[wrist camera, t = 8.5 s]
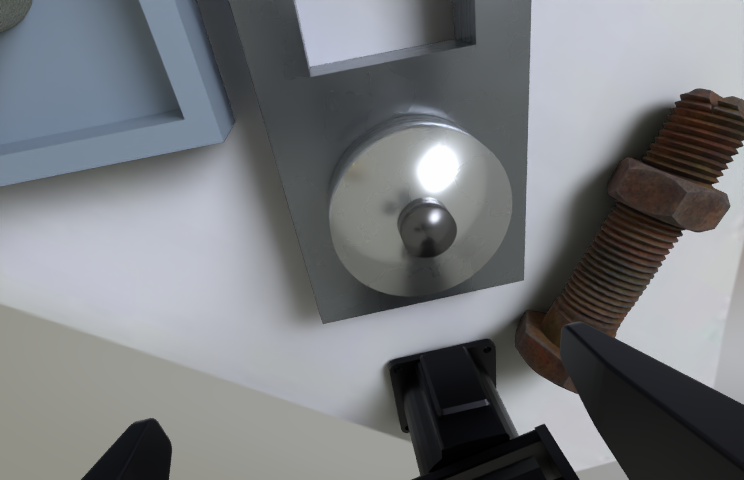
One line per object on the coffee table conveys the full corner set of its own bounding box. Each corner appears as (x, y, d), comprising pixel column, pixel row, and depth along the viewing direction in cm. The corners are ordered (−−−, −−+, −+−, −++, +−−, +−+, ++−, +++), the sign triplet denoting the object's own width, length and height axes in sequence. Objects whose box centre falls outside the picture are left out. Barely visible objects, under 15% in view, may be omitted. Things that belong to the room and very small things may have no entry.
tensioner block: (503, 253, 23) (555, 319, 18) (321, 293, 23) (325, 371, 18) (501, -207, 14) (604, -314, 9) (196, -155, 13) (136, -238, 9)
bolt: (670, 90, 22) (535, 321, 28) (638, 67, 18) (492, 336, 24) (811, 128, 18) (621, 385, 24) (804, 109, 15) (584, 413, 21)
